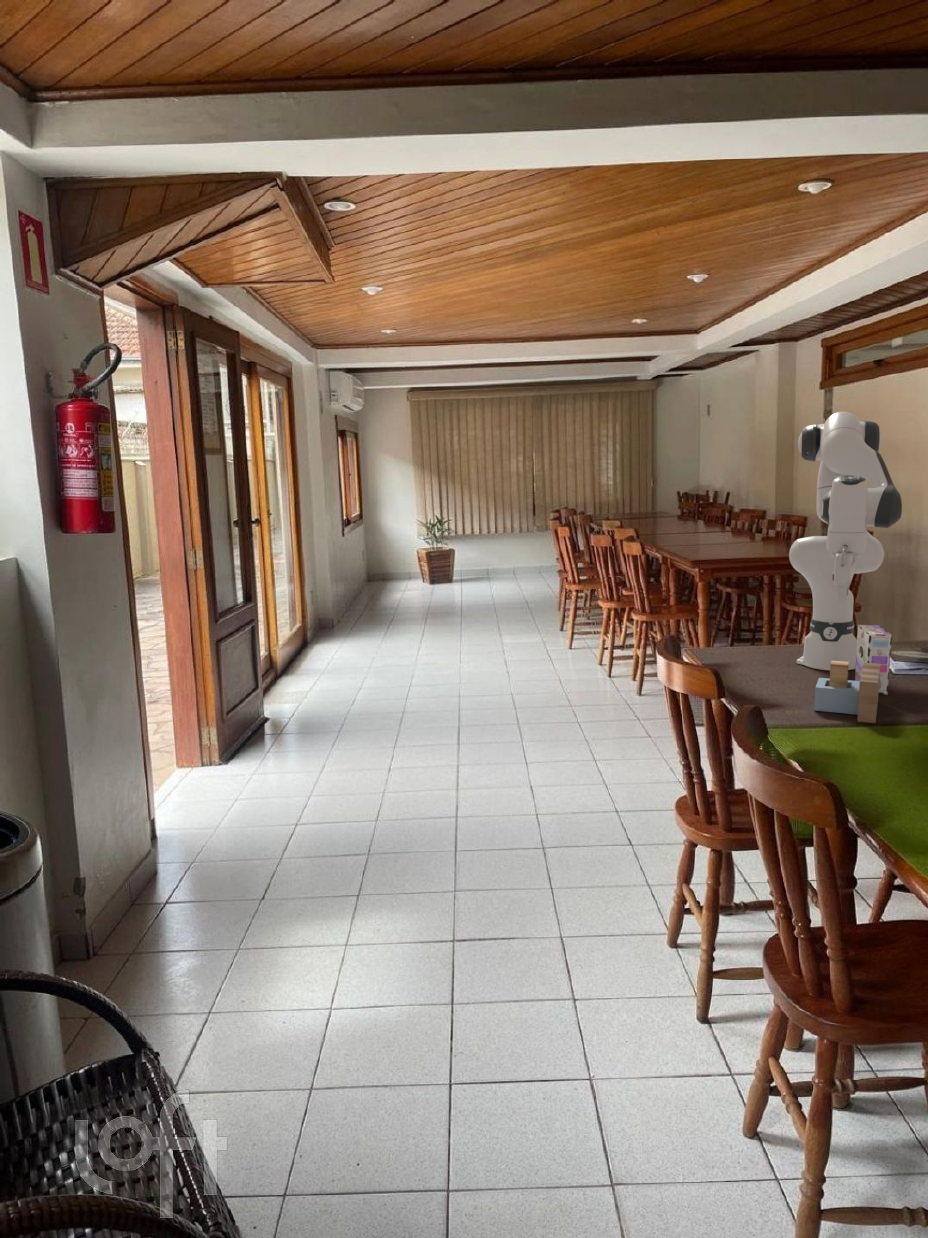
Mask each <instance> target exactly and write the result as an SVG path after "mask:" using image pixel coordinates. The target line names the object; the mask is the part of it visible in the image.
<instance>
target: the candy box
mask: <svg viewBox="0 0 928 1238" xmlns="http://www.w3.org/2000/svg"><path fill="white" fill-rule="evenodd" d="M856 630H857V632H856V633H857V635H856V639H857V650H856V669H854V670H855V672H854V681H860V677H861V673H862V668H863V663H864V662H865V663H878V664H880V680H879V695H886V696H887V695H888V694H889V680H890V667H891V652H892V651H891V650H892V639H893V635H892V634H891V633H890V632H888V631H886V630H885V629H884V628H883V627H881V625H880V624H879V625H878V624H857V628H856Z"/></svg>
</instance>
